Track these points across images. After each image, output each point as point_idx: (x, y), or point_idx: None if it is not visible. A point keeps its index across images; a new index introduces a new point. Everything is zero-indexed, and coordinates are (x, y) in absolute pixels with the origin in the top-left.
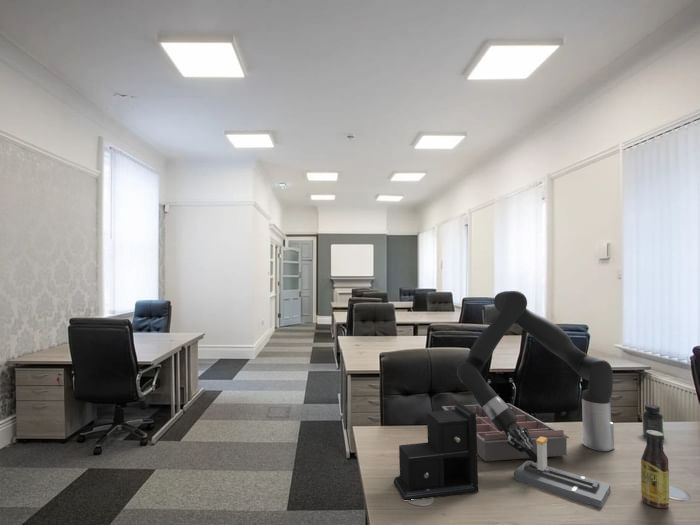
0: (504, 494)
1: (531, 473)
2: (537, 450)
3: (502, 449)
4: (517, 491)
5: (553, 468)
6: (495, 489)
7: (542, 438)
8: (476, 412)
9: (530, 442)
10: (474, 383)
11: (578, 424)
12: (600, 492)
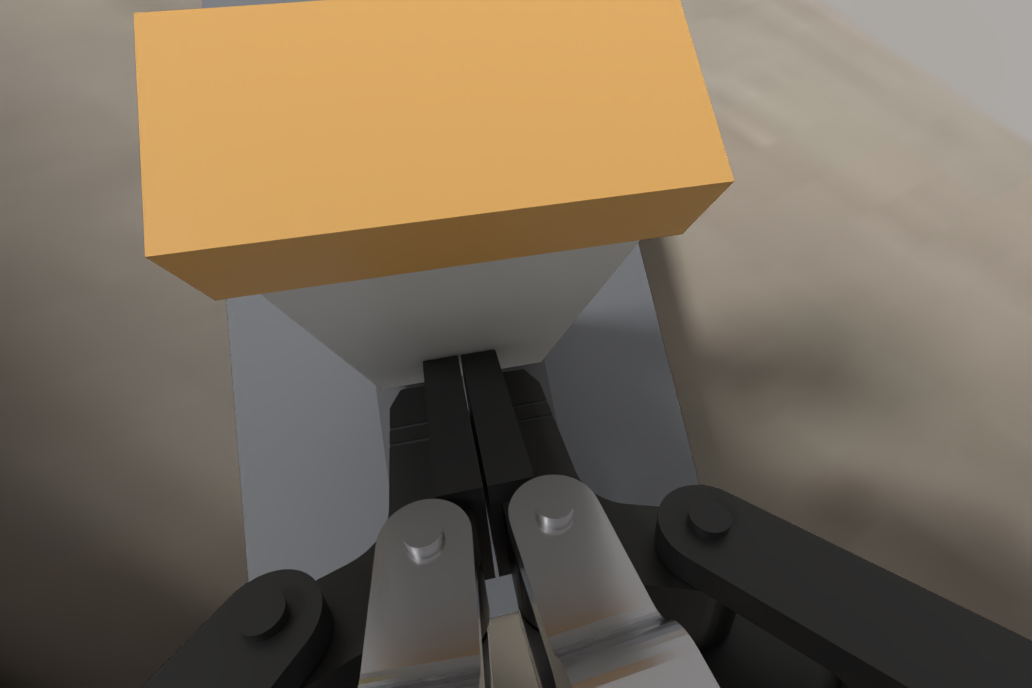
0: (972, 430)
1: (571, 423)
2: (597, 282)
3: None
4: (842, 392)
5: (246, 333)
6: (982, 529)
7: (349, 107)
8: None
9: (322, 624)
10: None
11: None
12: None
